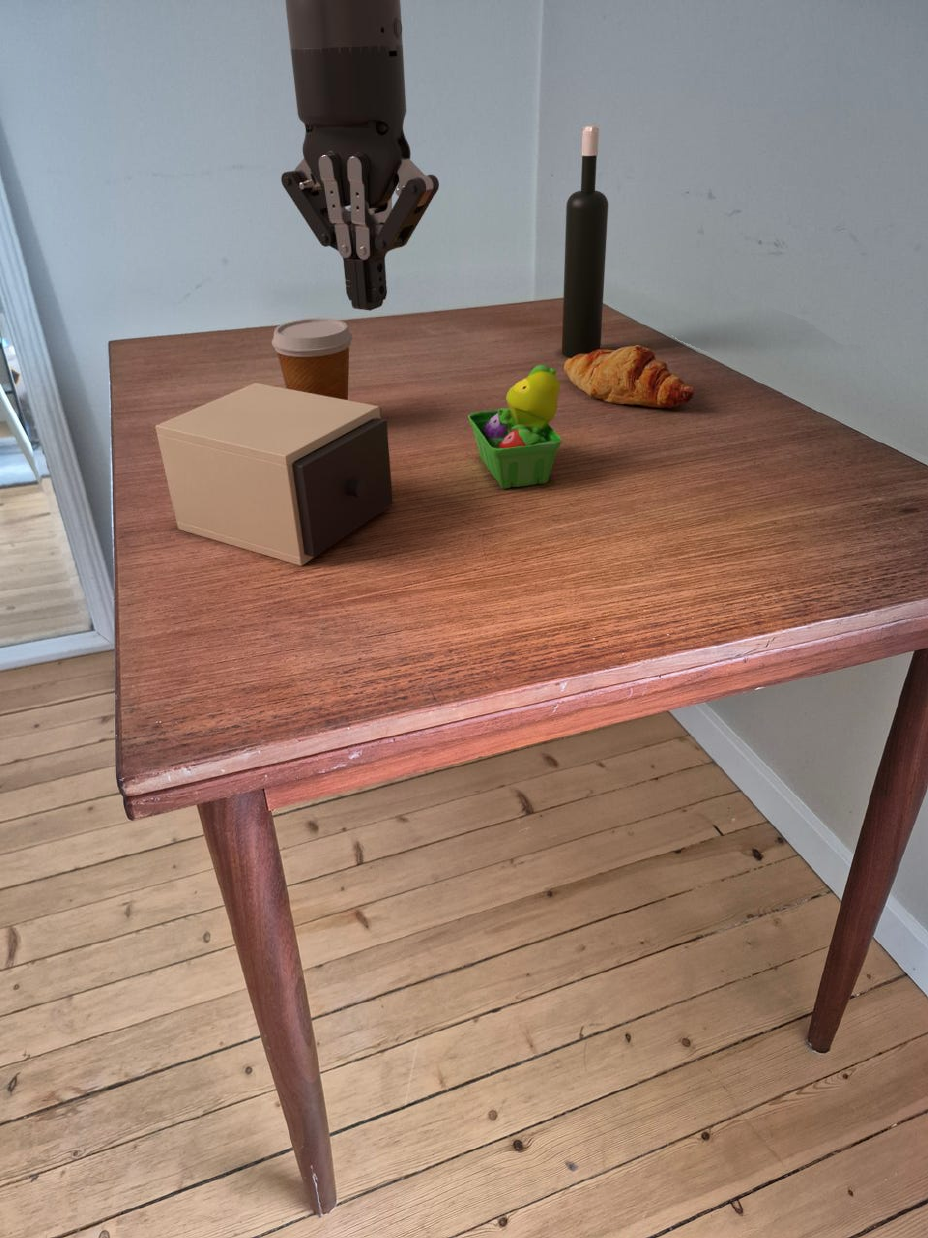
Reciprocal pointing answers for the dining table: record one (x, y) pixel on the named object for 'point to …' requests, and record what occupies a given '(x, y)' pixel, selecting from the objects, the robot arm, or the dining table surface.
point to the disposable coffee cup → (314, 356)
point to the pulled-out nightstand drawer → (343, 485)
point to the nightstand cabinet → (250, 463)
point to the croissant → (627, 378)
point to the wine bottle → (585, 257)
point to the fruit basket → (521, 431)
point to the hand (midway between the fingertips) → (368, 307)
